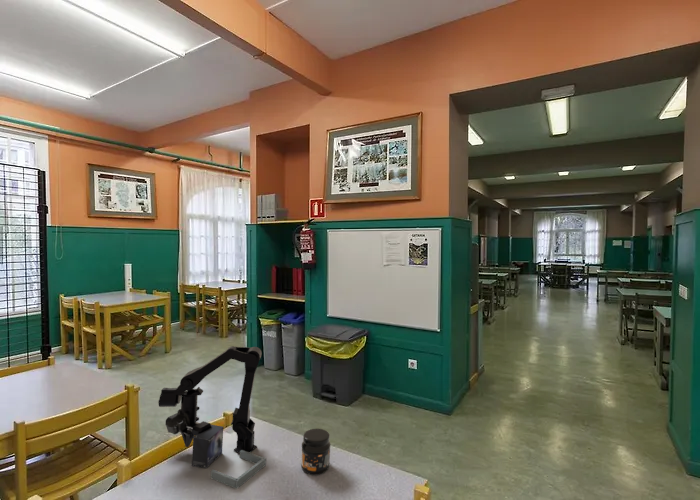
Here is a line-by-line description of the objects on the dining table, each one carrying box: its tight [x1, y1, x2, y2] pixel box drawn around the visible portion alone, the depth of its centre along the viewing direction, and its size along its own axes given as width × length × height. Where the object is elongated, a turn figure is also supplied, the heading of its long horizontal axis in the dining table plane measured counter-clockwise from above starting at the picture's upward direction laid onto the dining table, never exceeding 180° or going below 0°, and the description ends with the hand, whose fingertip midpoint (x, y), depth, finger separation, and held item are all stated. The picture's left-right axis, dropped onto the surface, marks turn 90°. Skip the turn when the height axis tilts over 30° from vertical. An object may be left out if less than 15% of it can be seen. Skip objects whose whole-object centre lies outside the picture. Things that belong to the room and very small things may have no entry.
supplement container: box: [300, 428, 331, 476], centre depth 131 cm, size 10×10×12 cm
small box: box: [191, 424, 224, 469], centre depth 134 cm, size 11×6×10 cm, turn 168°
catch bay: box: [210, 450, 267, 490], centre depth 127 cm, size 15×12×2 cm
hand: (187, 446), depth 138 cm, fingers closed
